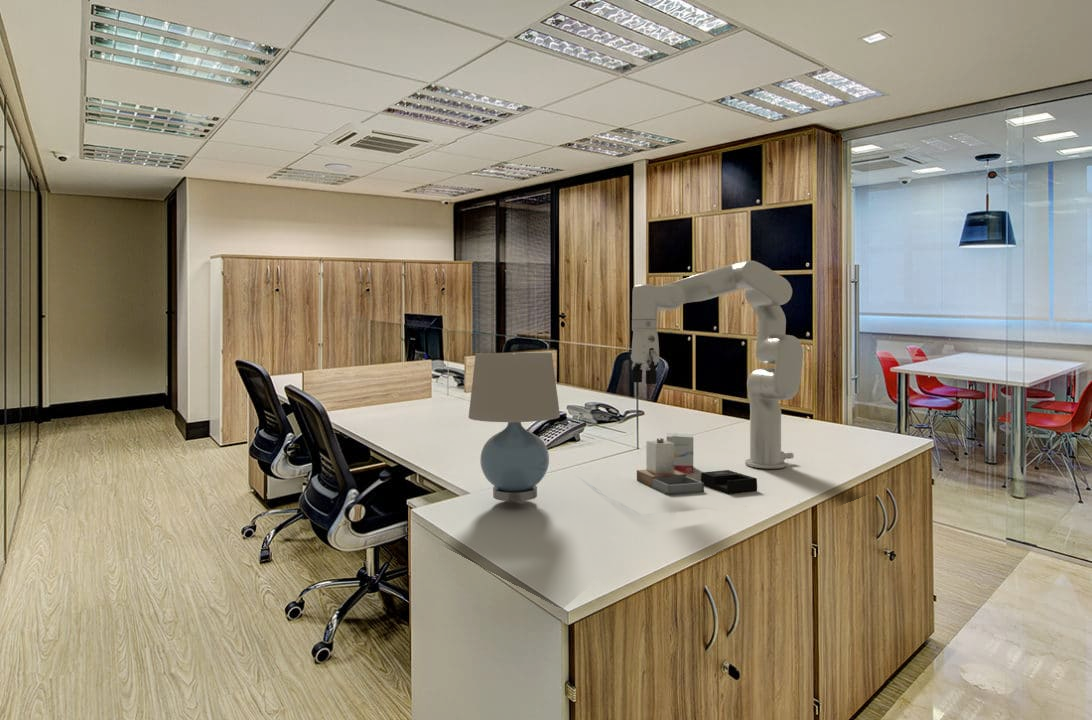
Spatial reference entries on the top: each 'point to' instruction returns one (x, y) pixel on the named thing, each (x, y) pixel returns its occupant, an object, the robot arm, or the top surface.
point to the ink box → (682, 451)
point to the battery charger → (729, 482)
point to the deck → (654, 476)
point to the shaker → (660, 456)
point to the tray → (677, 485)
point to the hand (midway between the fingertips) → (643, 383)
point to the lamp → (514, 419)
